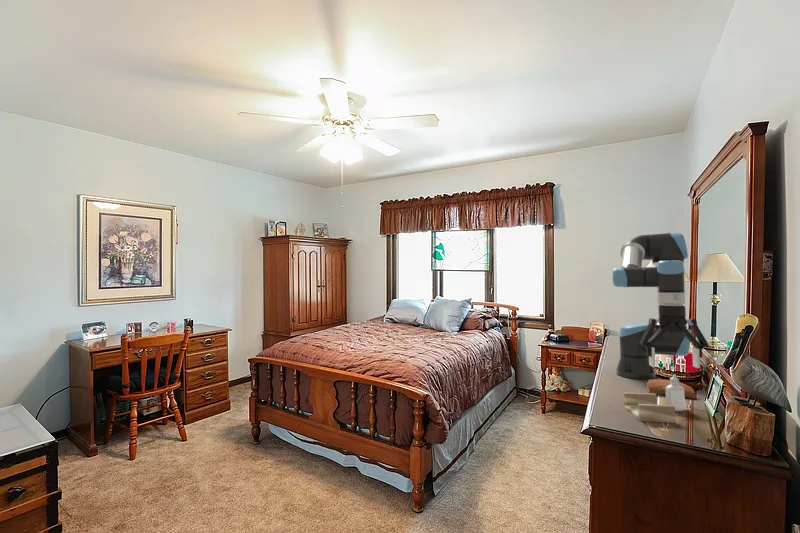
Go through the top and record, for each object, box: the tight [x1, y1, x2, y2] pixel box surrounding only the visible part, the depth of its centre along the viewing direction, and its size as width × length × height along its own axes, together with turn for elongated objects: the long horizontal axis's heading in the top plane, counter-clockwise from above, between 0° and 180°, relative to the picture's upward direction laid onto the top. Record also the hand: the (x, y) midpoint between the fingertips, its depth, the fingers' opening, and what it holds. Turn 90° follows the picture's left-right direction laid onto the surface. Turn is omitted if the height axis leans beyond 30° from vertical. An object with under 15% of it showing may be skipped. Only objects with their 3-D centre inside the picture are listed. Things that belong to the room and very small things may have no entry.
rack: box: [623, 392, 676, 424], centre depth 127 cm, size 13×10×5 cm
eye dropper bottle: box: [665, 373, 686, 412], centre depth 131 cm, size 4×6×12 cm
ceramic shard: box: [647, 378, 696, 400], centre depth 150 cm, size 15×6×15 cm
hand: (674, 366), depth 130 cm, fingers open, 13 cm apart
